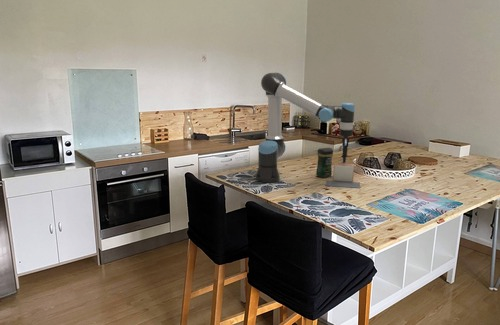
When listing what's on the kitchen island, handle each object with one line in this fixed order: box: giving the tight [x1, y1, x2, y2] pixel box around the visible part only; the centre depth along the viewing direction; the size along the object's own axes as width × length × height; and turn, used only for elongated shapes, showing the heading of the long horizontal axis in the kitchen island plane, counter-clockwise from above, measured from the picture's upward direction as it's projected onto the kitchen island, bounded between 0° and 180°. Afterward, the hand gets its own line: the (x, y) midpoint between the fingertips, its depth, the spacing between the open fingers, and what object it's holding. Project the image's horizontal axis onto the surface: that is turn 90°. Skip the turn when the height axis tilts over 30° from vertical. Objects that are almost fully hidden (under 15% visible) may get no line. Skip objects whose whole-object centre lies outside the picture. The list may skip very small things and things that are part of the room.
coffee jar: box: [315, 147, 334, 178], centre depth 243 cm, size 10×8×19 cm
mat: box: [325, 179, 361, 189], centre depth 228 cm, size 20×11×1 cm, turn 76°
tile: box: [332, 162, 355, 182], centre depth 231 cm, size 12×2×12 cm, turn 76°
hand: (343, 167), depth 232 cm, fingers closed
